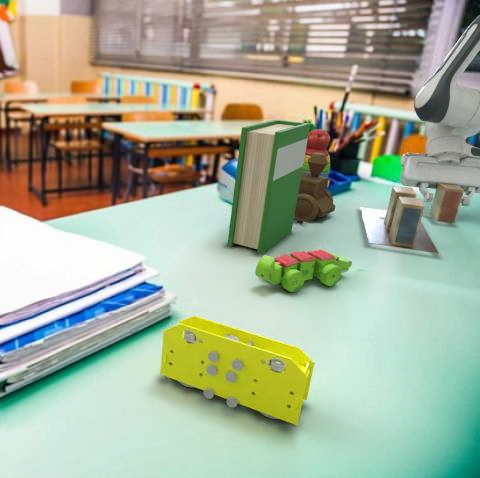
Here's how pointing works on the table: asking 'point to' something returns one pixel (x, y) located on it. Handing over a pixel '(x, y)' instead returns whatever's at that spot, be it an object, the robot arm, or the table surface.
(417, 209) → the tile
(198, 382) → the yellow toy chassis
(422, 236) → the word board
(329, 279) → the toy crocodile
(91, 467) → the table surface
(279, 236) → the hardback book
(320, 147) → the stacking bear
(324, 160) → the wooden toy train
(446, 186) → the tile
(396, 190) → the tile
